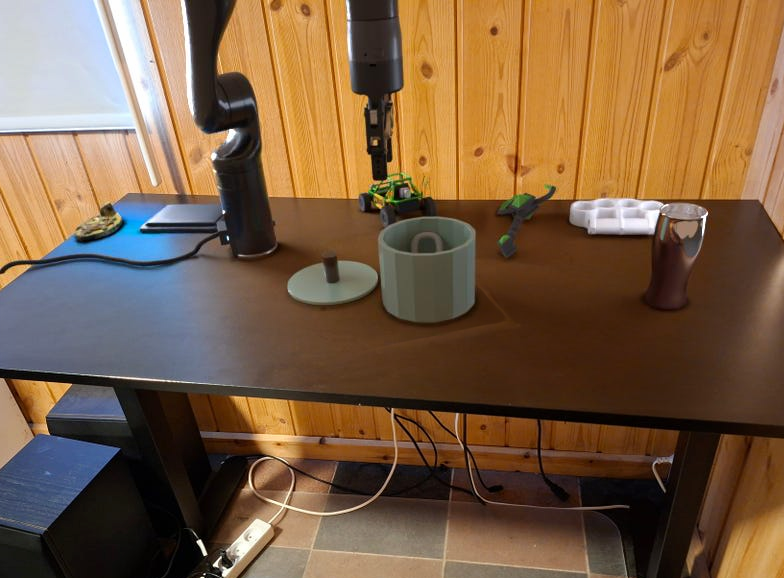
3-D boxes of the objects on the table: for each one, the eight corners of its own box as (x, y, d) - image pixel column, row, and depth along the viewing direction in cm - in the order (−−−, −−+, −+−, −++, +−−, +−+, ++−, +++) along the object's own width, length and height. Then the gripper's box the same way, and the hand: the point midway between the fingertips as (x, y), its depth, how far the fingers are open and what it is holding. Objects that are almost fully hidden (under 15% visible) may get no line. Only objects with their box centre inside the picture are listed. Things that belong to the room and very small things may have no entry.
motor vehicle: (404, 198, 148) (402, 153, 142) (442, 225, 133) (441, 175, 127) (358, 208, 145) (354, 162, 139) (392, 237, 129) (388, 186, 124)
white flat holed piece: (571, 238, 123) (567, 211, 135) (670, 239, 119) (657, 210, 131) (573, 222, 121) (569, 195, 133) (673, 222, 117) (660, 195, 129)
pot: (398, 332, 98) (393, 262, 92) (374, 290, 111) (368, 225, 104) (489, 314, 101) (490, 244, 94) (455, 274, 113) (455, 210, 107)
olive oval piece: (105, 246, 139) (133, 219, 151) (100, 226, 136) (129, 200, 149) (64, 243, 140) (95, 216, 152) (58, 223, 137) (91, 197, 149)
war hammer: (530, 227, 111) (554, 166, 133) (466, 248, 118) (499, 187, 140) (542, 256, 114) (564, 191, 136) (478, 275, 121) (509, 210, 143)
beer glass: (687, 292, 102) (707, 203, 94) (689, 313, 97) (711, 220, 89) (641, 288, 105) (657, 200, 96) (641, 308, 99) (657, 217, 91)
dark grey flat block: (135, 224, 141) (166, 199, 153) (137, 232, 142) (168, 207, 154) (218, 224, 137) (244, 199, 149) (220, 233, 138) (245, 207, 150)
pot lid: (295, 315, 105) (289, 282, 102) (282, 275, 118) (277, 244, 115) (388, 297, 108) (386, 265, 105) (366, 260, 121) (363, 230, 118)
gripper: (355, 47, 94) (364, 157, 103) (340, 65, 82) (352, 187, 91) (405, 44, 93) (410, 155, 102) (398, 62, 81) (404, 185, 90)
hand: (383, 170), depth 96 cm, fingers open, 8 cm apart
